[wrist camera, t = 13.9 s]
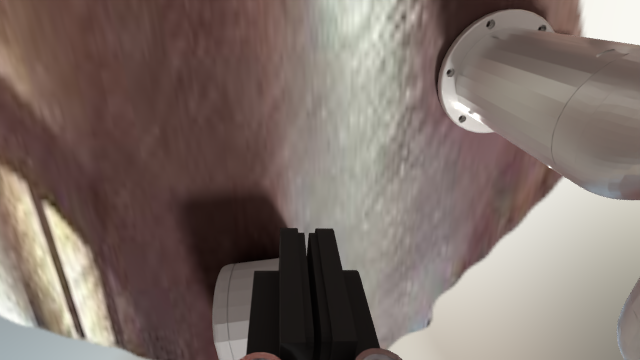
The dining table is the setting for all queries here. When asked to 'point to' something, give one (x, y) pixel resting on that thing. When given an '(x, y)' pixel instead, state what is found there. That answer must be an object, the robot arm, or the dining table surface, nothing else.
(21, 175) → the dining table surface
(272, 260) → the grey rounded box
